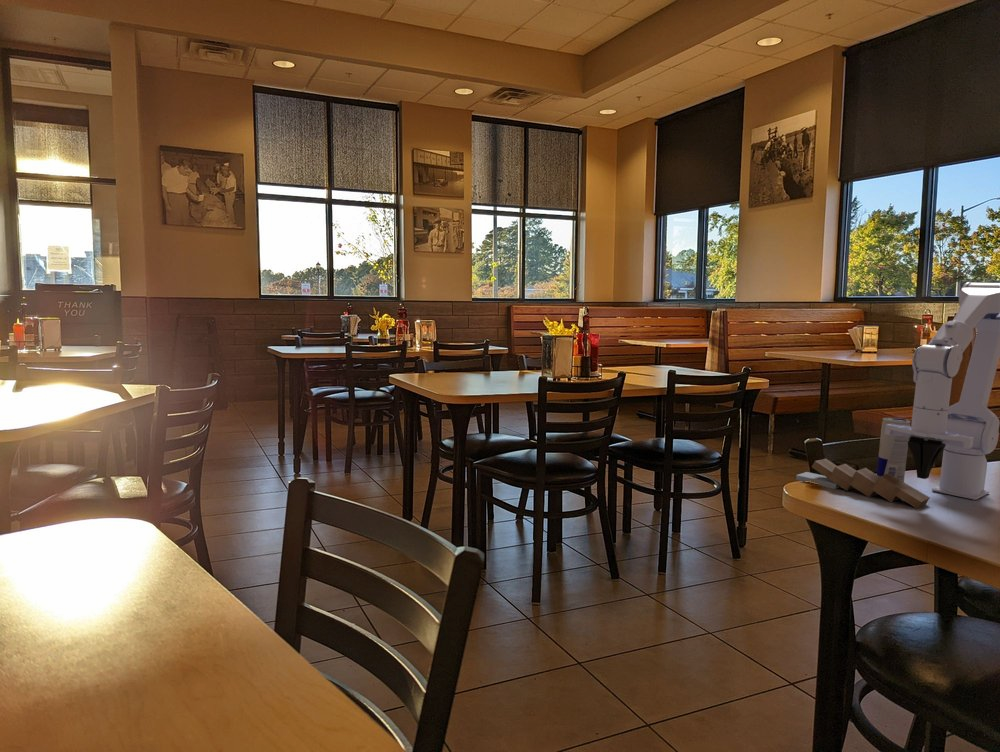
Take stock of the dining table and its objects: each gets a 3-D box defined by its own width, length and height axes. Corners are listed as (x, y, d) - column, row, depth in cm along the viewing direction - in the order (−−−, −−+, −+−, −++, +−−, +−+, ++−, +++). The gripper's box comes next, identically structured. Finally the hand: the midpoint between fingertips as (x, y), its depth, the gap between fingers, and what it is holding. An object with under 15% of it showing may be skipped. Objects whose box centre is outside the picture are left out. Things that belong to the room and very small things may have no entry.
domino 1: (844, 487, 147) (806, 478, 153) (845, 480, 147) (806, 471, 153) (835, 491, 144) (795, 482, 150) (835, 483, 143) (796, 475, 150)
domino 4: (900, 498, 138) (861, 474, 144) (904, 491, 138) (865, 467, 143) (891, 502, 135) (852, 477, 141) (895, 495, 135) (855, 471, 140)
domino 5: (925, 504, 135) (884, 479, 140) (930, 497, 134) (888, 473, 140) (917, 508, 132) (875, 483, 137) (921, 501, 131) (879, 476, 137)
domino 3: (878, 493, 141) (841, 469, 147) (882, 487, 141) (845, 463, 146) (869, 497, 138) (831, 473, 144) (873, 490, 138) (835, 466, 143)
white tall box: (895, 486, 148) (903, 417, 146) (907, 493, 143) (915, 421, 141) (871, 484, 148) (878, 416, 146) (881, 491, 143) (889, 420, 141)
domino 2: (857, 487, 145) (822, 464, 151) (860, 481, 144) (825, 458, 150) (846, 490, 142) (811, 467, 148) (850, 484, 141) (815, 460, 147)
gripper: (881, 404, 134) (874, 472, 136) (968, 415, 123) (959, 489, 125) (896, 401, 139) (888, 467, 140) (980, 412, 128) (971, 484, 130)
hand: (922, 477), depth 133 cm, fingers closed
